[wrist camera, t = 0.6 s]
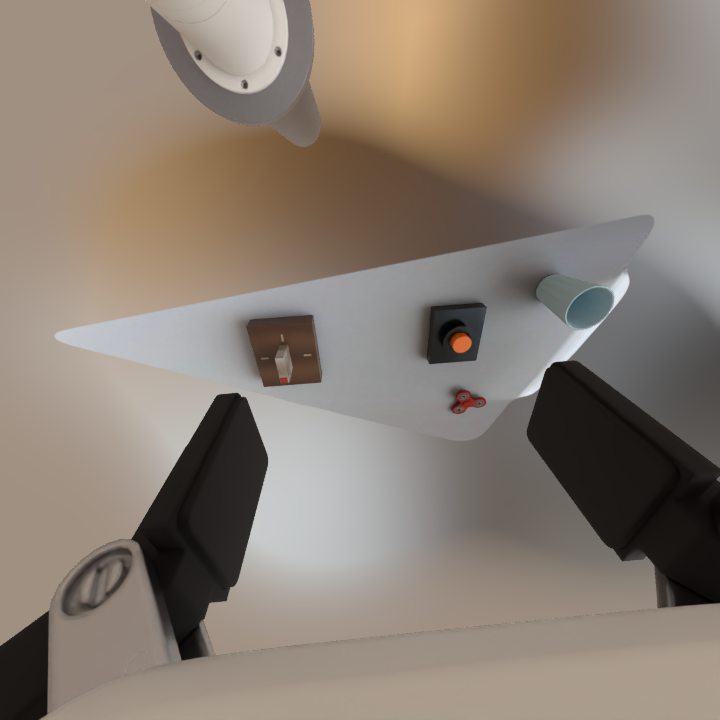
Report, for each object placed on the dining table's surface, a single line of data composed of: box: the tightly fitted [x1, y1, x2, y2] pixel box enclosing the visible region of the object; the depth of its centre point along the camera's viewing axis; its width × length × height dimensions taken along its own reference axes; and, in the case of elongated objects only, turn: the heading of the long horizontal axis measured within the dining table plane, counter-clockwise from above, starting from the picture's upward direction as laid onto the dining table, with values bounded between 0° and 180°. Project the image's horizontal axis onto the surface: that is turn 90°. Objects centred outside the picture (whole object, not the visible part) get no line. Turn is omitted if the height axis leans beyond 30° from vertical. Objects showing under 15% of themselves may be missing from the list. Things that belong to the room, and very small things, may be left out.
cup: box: [536, 274, 614, 330], centre depth 51 cm, size 8×8×10 cm
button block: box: [427, 303, 487, 364], centre depth 58 cm, size 12×10×4 cm
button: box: [450, 332, 472, 353], centre depth 56 cm, size 4×4×2 cm
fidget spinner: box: [452, 390, 486, 414], centre depth 69 cm, size 8×7×1 cm
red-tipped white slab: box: [275, 344, 293, 383], centre depth 54 cm, size 6×2×5 cm, turn 3°
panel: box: [247, 315, 322, 387], centre depth 58 cm, size 14×12×3 cm
